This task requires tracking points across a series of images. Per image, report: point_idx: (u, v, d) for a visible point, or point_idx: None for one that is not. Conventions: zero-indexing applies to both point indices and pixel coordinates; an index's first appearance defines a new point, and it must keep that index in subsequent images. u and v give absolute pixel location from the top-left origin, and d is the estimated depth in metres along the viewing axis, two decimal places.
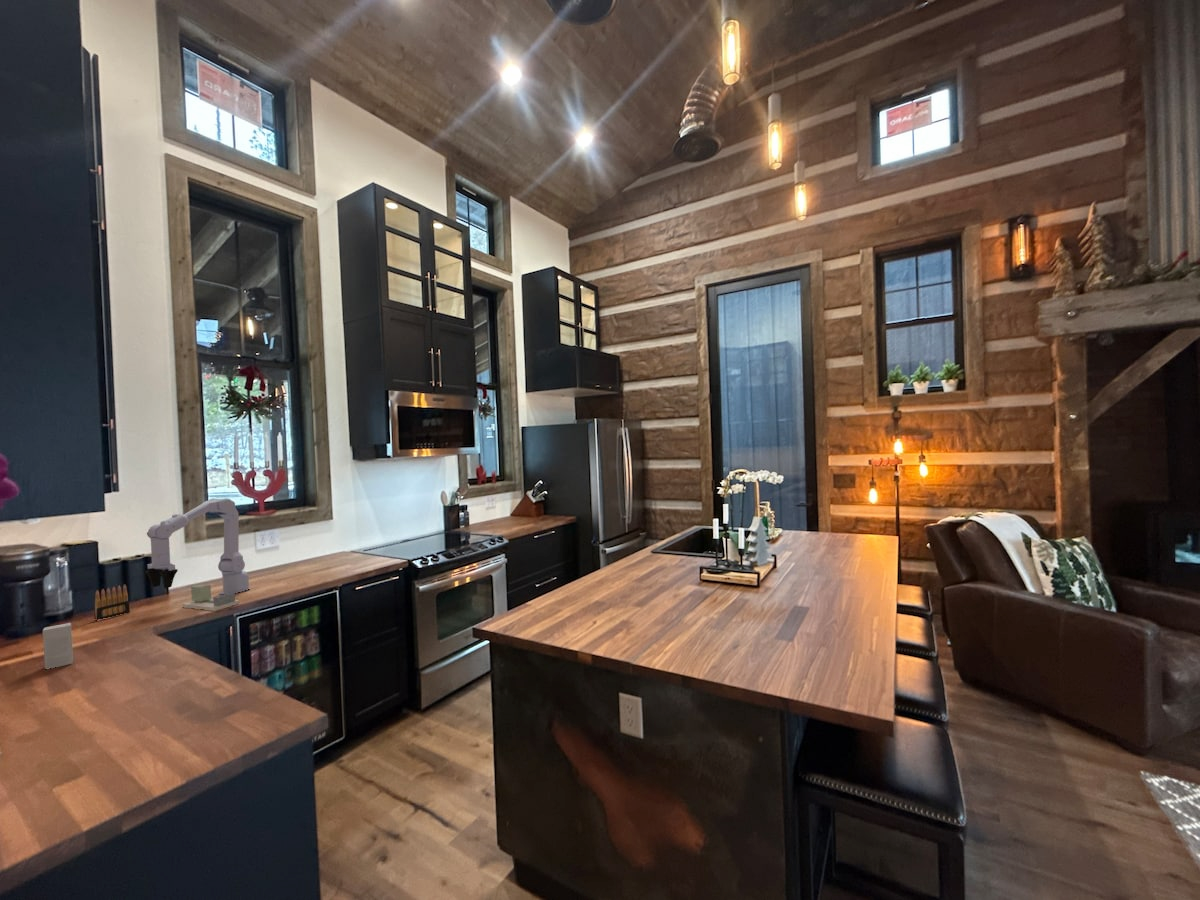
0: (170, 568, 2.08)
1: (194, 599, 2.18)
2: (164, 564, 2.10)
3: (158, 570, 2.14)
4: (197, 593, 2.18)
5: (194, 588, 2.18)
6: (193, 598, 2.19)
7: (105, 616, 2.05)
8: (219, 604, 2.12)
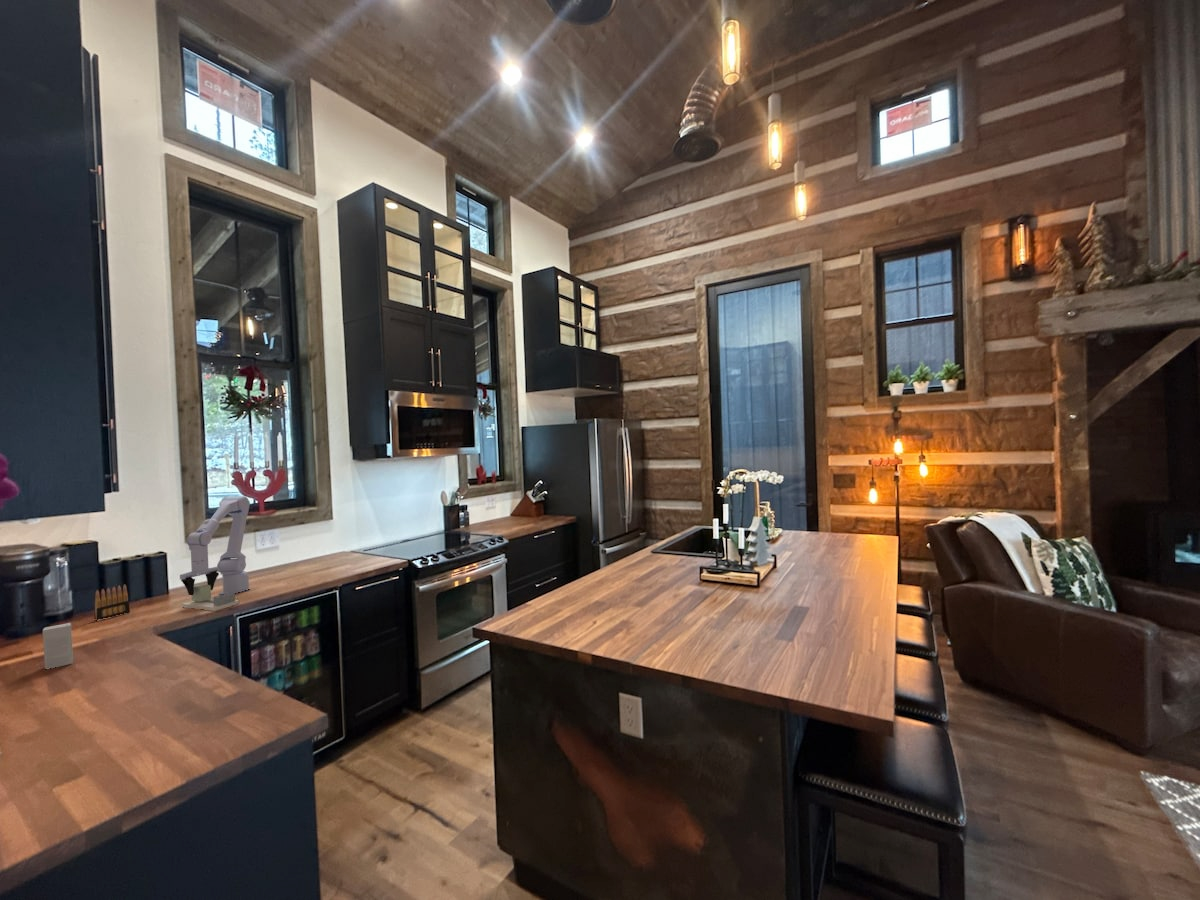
0: (180, 577, 2.13)
1: (194, 599, 2.18)
2: (192, 571, 2.17)
3: (211, 575, 2.23)
4: (197, 593, 2.18)
5: (194, 588, 2.18)
6: (193, 598, 2.19)
7: (105, 616, 2.05)
8: (219, 604, 2.12)
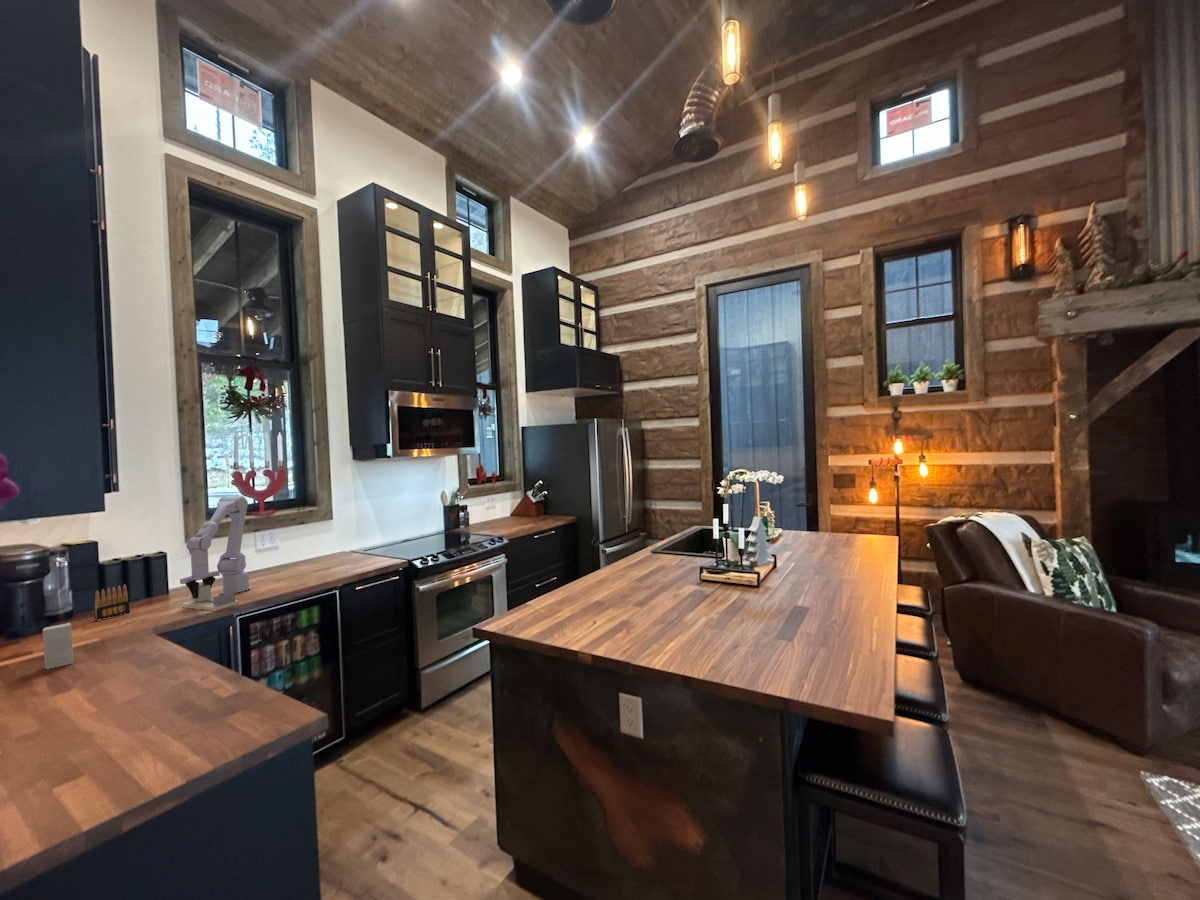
0: (180, 581, 2.13)
1: (194, 599, 2.18)
2: (192, 576, 2.17)
3: (207, 580, 2.21)
4: None
5: None
6: (193, 598, 2.19)
7: (105, 616, 2.05)
8: (219, 604, 2.12)
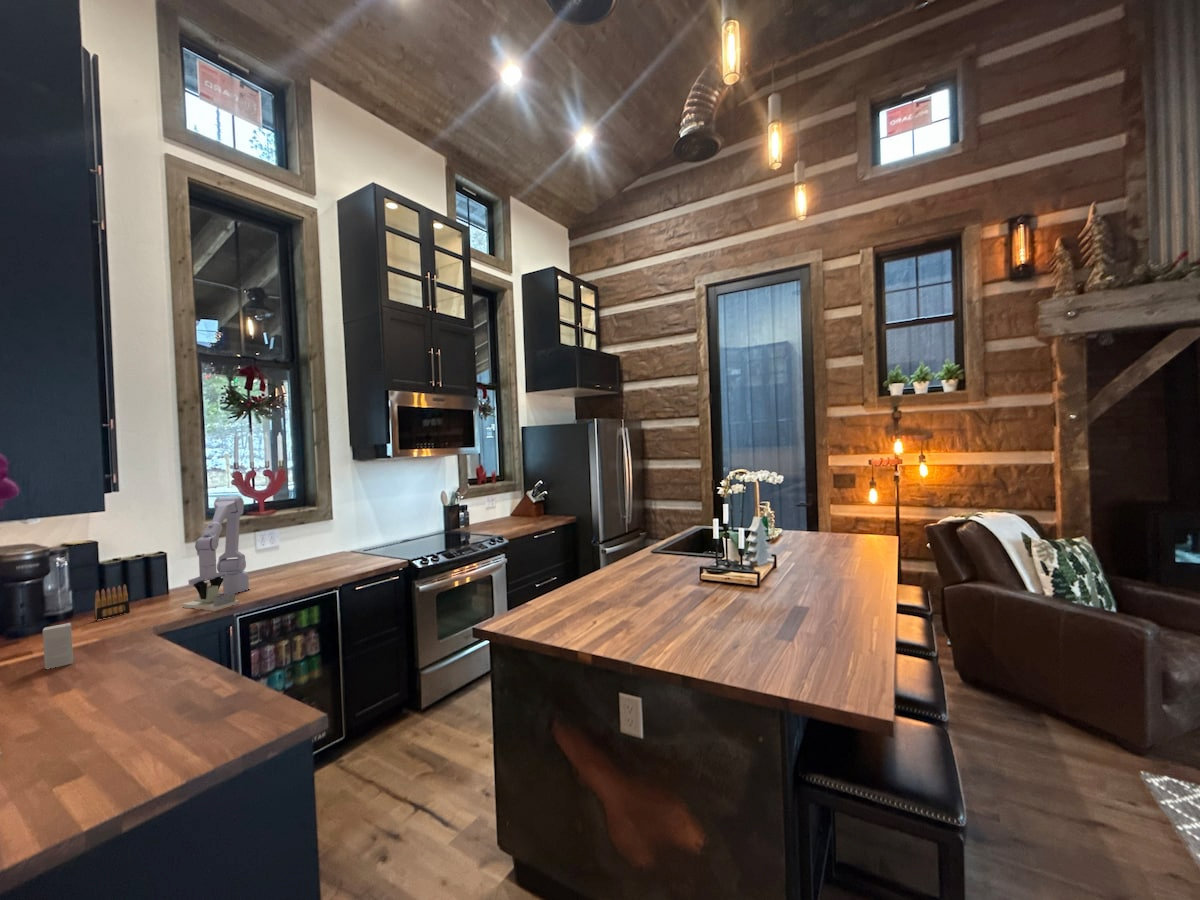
0: (189, 582, 2.11)
1: (202, 600, 2.17)
2: (200, 576, 2.15)
3: (215, 581, 2.20)
4: None
5: None
6: (201, 599, 2.17)
7: (105, 616, 2.05)
8: (219, 604, 2.12)
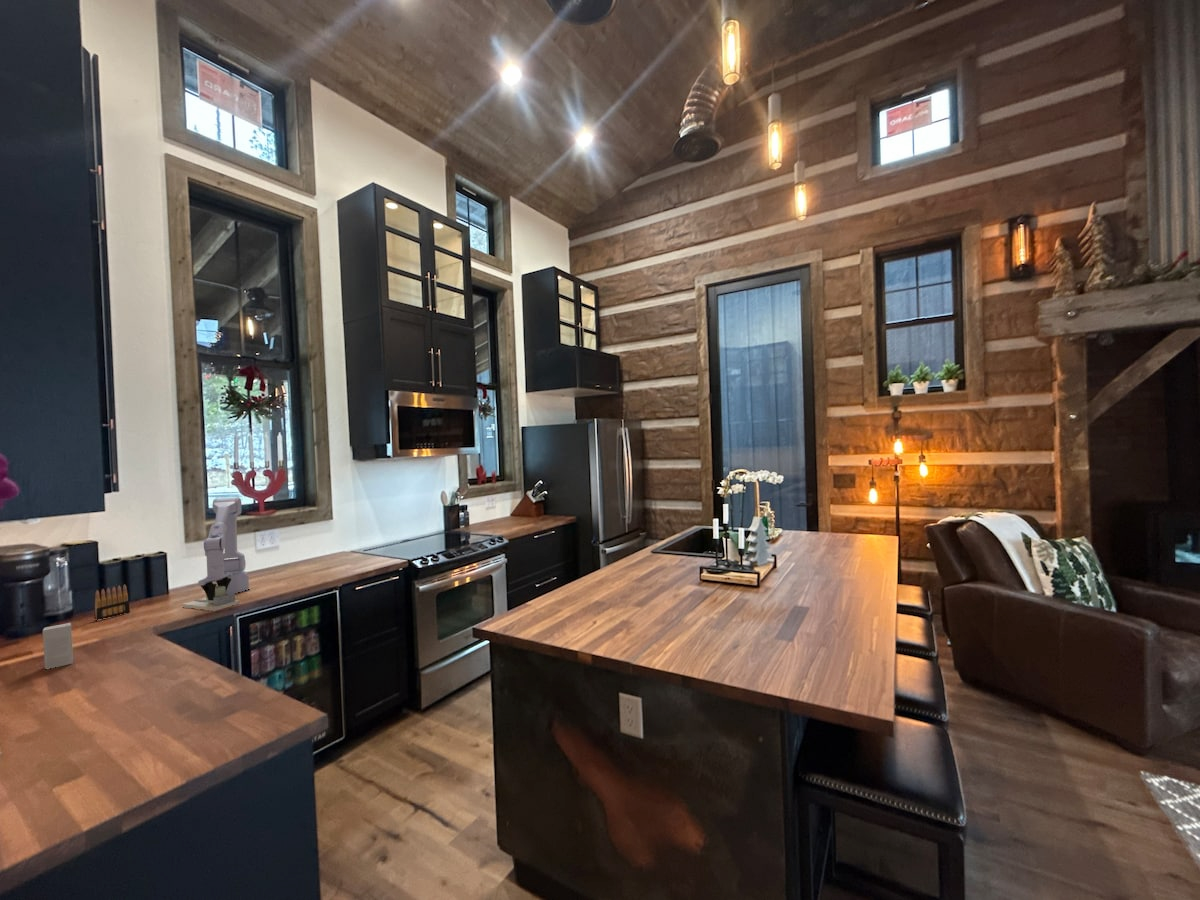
0: (199, 583, 2.09)
1: (209, 601, 2.15)
2: (209, 577, 2.13)
3: (223, 581, 2.19)
4: None
5: None
6: (208, 600, 2.15)
7: (105, 616, 2.05)
8: (219, 604, 2.12)
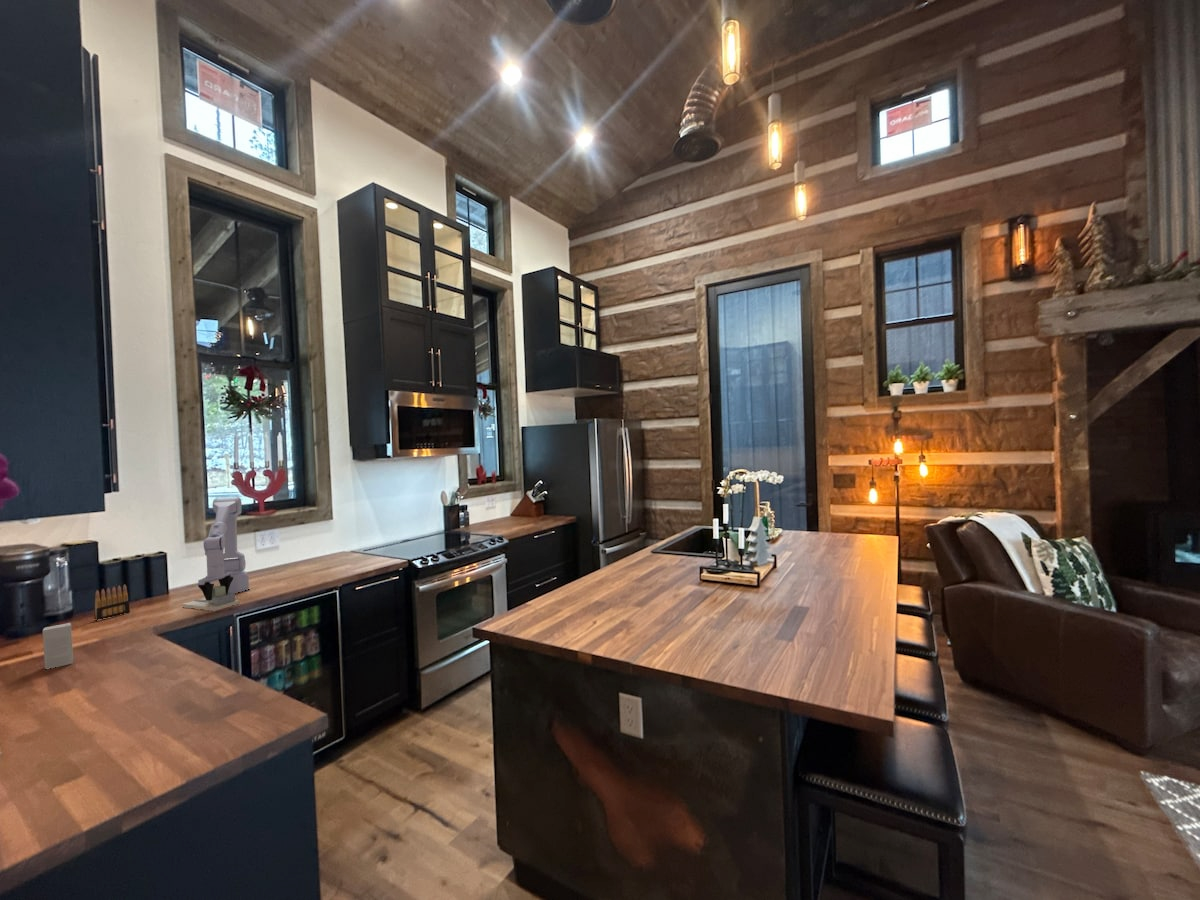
0: (198, 582, 2.09)
1: (209, 601, 2.15)
2: (209, 576, 2.13)
3: (225, 580, 2.20)
4: (212, 595, 2.14)
5: None
6: None
7: (105, 616, 2.05)
8: (219, 604, 2.12)
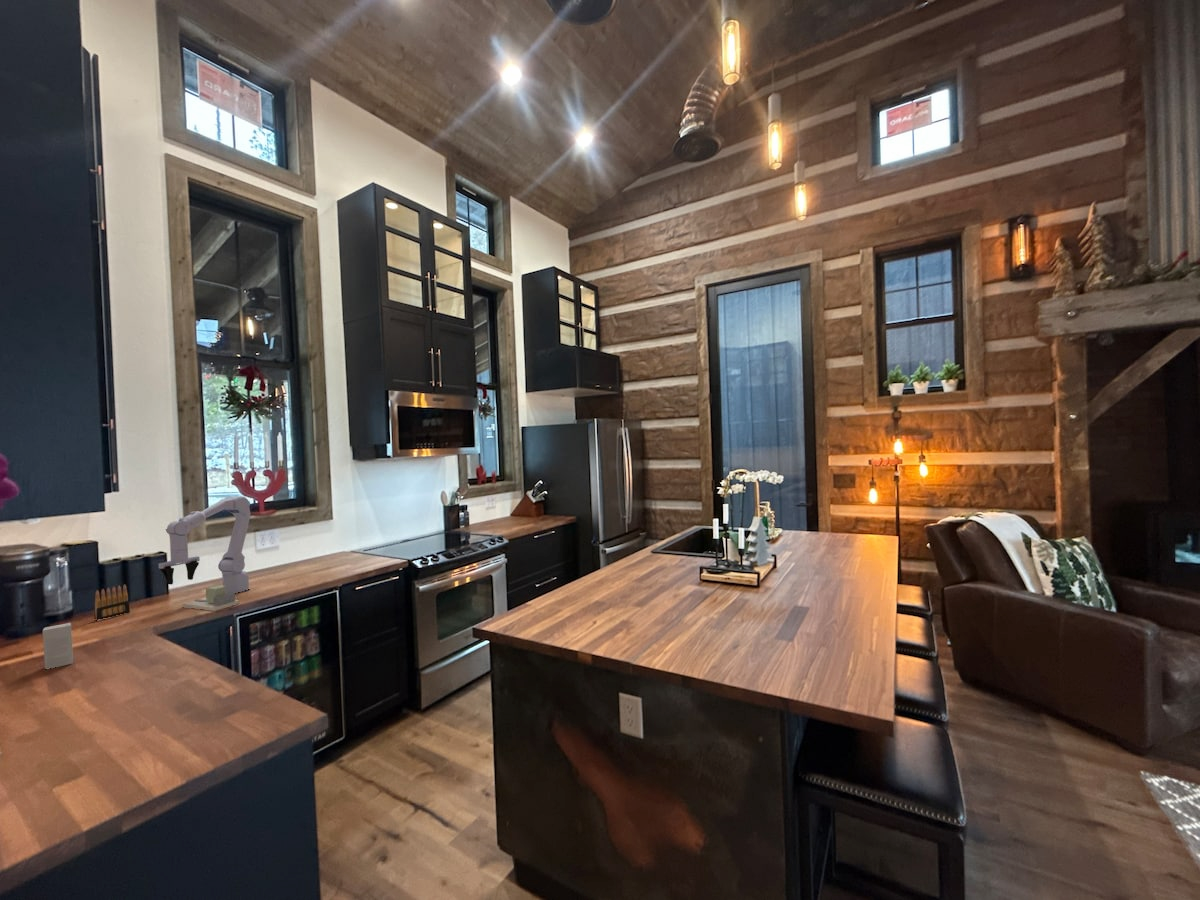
0: (159, 566, 2.12)
1: (209, 601, 2.15)
2: (171, 560, 2.16)
3: (190, 564, 2.21)
4: (212, 595, 2.14)
5: (209, 589, 2.15)
6: (208, 600, 2.15)
7: (105, 616, 2.05)
8: (219, 604, 2.12)
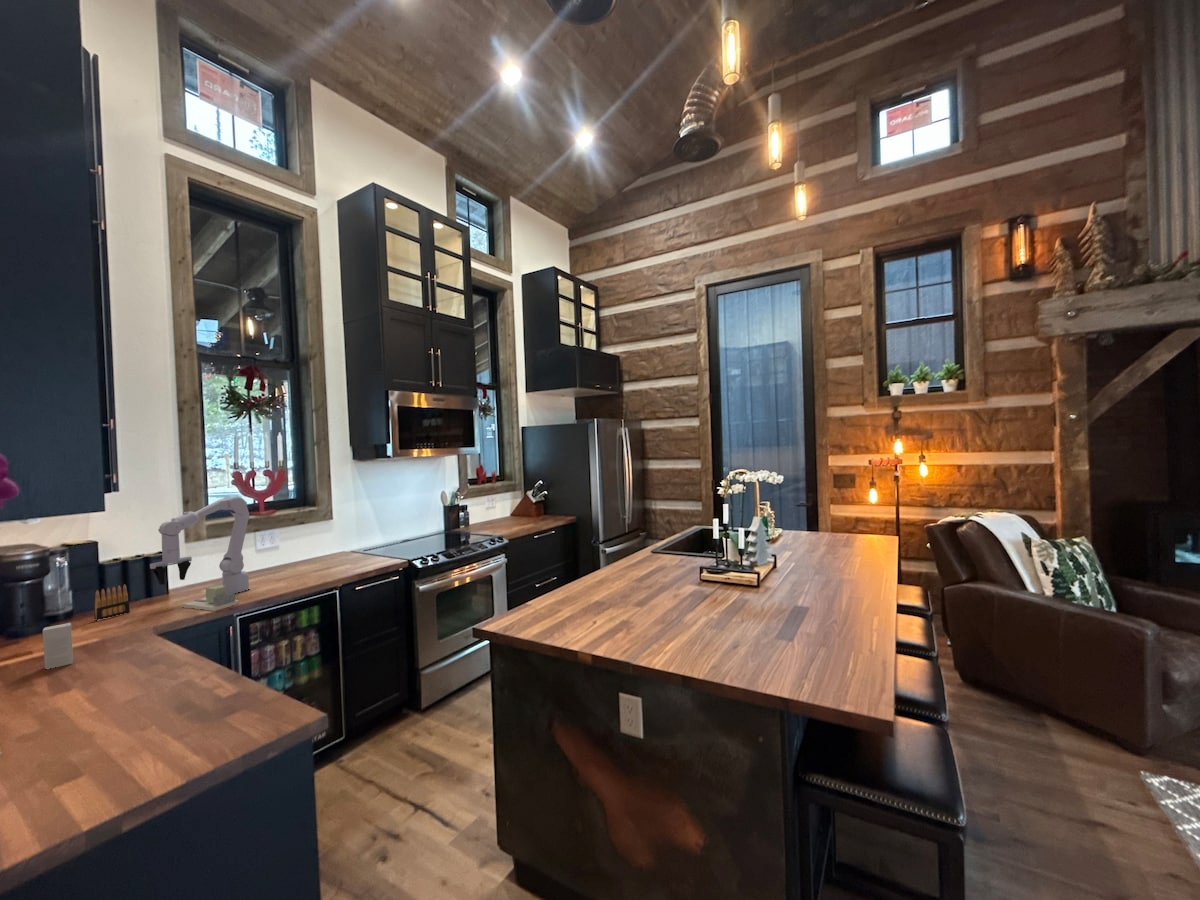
0: (150, 566, 2.12)
1: (209, 601, 2.15)
2: (163, 561, 2.16)
3: (182, 565, 2.22)
4: (212, 595, 2.14)
5: (209, 589, 2.15)
6: (208, 600, 2.15)
7: (105, 616, 2.05)
8: (219, 604, 2.12)
